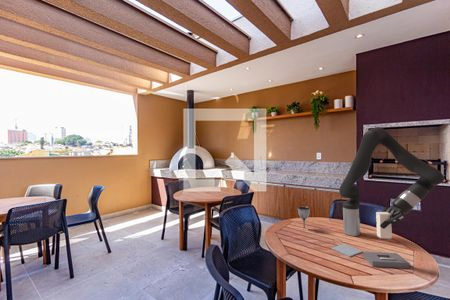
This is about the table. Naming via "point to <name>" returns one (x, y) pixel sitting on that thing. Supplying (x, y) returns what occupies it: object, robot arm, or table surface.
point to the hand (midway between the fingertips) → (379, 225)
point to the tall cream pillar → (380, 231)
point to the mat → (346, 250)
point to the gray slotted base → (386, 260)
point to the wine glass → (304, 213)
